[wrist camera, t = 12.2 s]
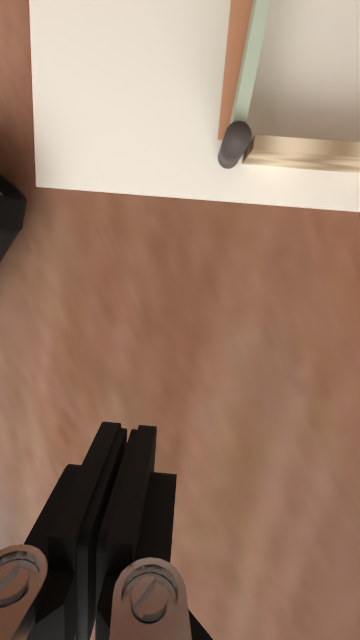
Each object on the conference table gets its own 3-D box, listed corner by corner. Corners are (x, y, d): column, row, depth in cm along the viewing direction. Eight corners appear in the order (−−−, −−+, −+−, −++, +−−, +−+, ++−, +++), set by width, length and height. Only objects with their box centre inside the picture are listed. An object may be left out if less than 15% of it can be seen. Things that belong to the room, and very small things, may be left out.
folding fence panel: (240, 141, 31) (251, 120, 25) (223, 138, 31) (230, 117, 25) (289, -102, 27) (317, -201, 20) (269, -105, 27) (291, -206, 20)
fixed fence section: (385, 157, 32) (444, 135, 24) (380, 180, 32) (436, 165, 25) (218, 145, 32) (226, 119, 24) (216, 168, 33) (223, 149, 25)
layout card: (457, -166, 26) (460, -171, 25) (373, 213, 33) (375, 213, 33) (24, -189, 27) (21, -194, 26) (37, 186, 34) (35, 186, 34)
